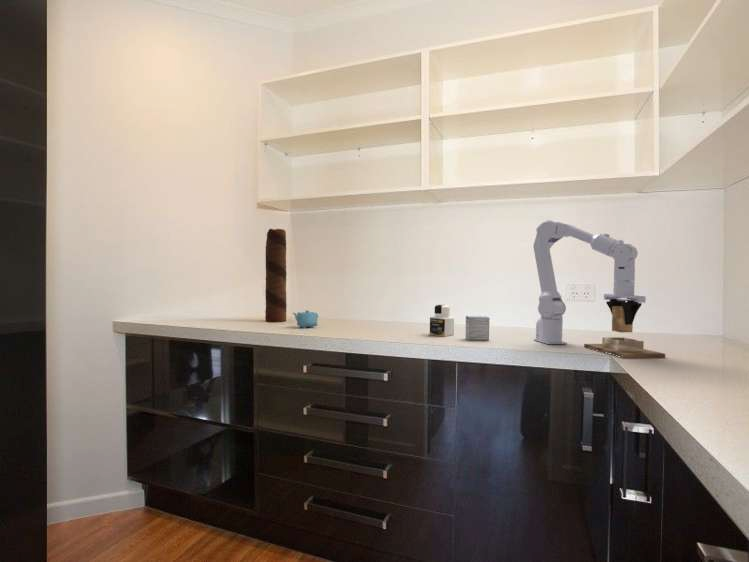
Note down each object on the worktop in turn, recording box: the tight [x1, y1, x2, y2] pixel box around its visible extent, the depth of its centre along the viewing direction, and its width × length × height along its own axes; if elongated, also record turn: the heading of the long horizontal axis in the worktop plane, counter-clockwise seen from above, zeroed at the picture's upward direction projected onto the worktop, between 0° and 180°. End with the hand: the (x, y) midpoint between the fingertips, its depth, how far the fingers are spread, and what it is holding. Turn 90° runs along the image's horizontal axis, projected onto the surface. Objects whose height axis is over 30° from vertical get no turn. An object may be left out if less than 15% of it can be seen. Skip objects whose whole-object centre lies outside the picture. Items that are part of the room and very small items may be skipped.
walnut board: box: [583, 336, 666, 359], centre depth 130 cm, size 18×14×4 cm
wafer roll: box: [264, 228, 287, 323], centre depth 199 cm, size 10×11×45 cm
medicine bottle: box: [429, 304, 455, 338], centre depth 163 cm, size 7×7×12 cm
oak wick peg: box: [611, 306, 634, 333], centre depth 130 cm, size 4×4×8 cm
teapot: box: [292, 310, 319, 329], centre depth 178 cm, size 12×6×8 cm, turn 118°
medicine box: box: [465, 315, 490, 341], centre depth 152 cm, size 8×4×9 cm, turn 92°
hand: (622, 323), depth 130 cm, fingers closed on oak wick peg, 4 cm apart
